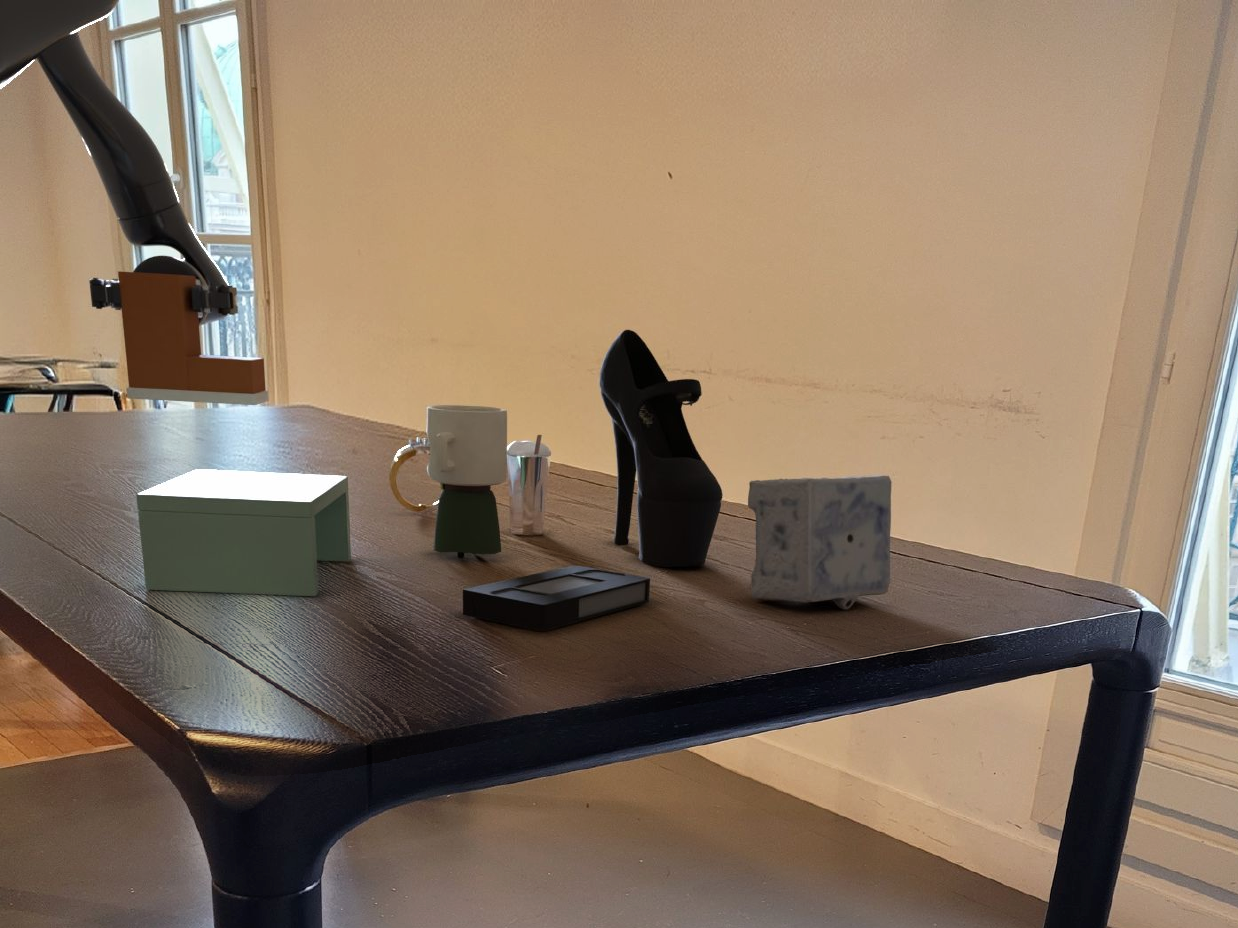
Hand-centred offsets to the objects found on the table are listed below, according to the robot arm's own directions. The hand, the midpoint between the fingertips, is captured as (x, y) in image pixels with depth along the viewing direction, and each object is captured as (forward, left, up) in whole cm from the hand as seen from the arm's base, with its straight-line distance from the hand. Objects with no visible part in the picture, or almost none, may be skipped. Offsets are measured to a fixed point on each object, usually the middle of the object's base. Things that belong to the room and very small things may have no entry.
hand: (156, 297), depth 118 cm
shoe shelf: (+13, -22, -21) cm, 33 cm away
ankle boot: (+3, +2, -9) cm, 10 cm away
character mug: (+29, -10, -21) cm, 37 cm away
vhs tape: (+38, -31, -21) cm, 54 cm away
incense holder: (+59, -24, -21) cm, 67 cm away
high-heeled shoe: (+47, -6, -21) cm, 52 cm away
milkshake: (+34, +4, -21) cm, 40 cm away
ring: (+22, +14, -21) cm, 34 cm away
